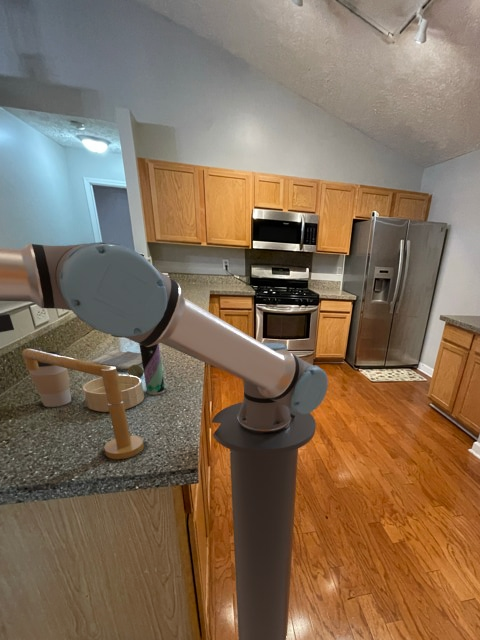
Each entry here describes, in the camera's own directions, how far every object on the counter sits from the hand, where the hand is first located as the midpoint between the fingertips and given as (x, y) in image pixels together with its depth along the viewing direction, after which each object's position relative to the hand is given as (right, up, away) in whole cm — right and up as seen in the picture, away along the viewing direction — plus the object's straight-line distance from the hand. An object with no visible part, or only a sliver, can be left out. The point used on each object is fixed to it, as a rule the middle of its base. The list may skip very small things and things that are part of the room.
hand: (8, 321), depth 56 cm
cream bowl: (-4, -14, +40) cm, 43 cm away
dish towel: (-20, +1, +73) cm, 76 cm away
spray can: (+4, -11, +49) cm, 50 cm away
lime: (-8, -6, +59) cm, 60 cm away
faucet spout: (-1, -12, +17) cm, 21 cm away
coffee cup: (-21, -15, +38) cm, 46 cm away
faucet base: (+11, -25, +18) cm, 33 cm away
